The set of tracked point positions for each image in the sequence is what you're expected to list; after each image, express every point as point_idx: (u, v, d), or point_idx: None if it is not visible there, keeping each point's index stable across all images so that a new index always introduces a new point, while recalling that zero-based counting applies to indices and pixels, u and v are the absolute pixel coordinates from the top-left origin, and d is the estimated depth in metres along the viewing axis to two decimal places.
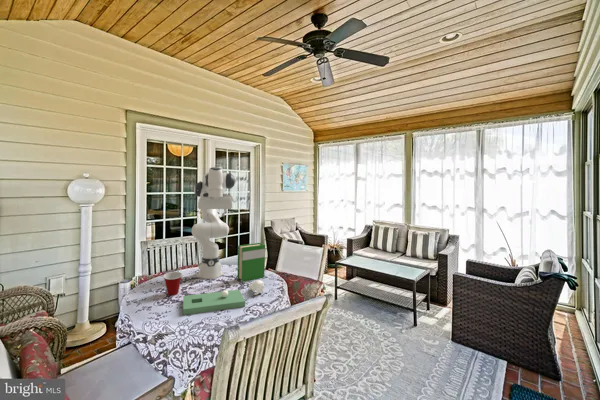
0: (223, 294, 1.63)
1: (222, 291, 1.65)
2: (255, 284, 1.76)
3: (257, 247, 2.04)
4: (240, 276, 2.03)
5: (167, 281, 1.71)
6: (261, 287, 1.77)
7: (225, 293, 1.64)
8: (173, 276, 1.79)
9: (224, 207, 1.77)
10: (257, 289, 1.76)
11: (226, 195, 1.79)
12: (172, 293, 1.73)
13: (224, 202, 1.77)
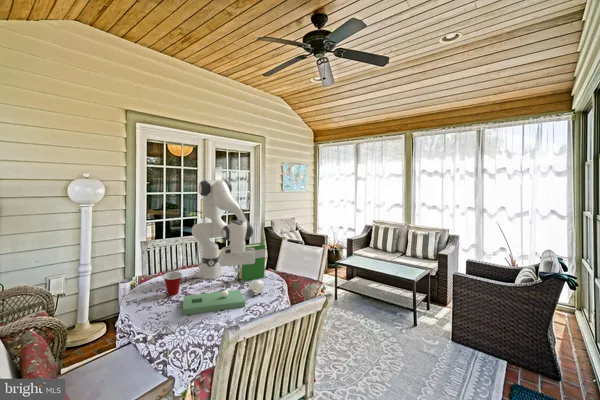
0: (223, 294, 1.63)
1: (222, 291, 1.65)
2: (255, 284, 1.76)
3: (257, 247, 2.04)
4: (240, 276, 2.03)
5: (167, 281, 1.71)
6: (261, 287, 1.77)
7: (225, 293, 1.64)
8: (173, 276, 1.79)
9: (247, 262, 1.67)
10: (257, 289, 1.76)
11: (249, 249, 1.68)
12: (172, 293, 1.73)
13: (247, 256, 1.67)
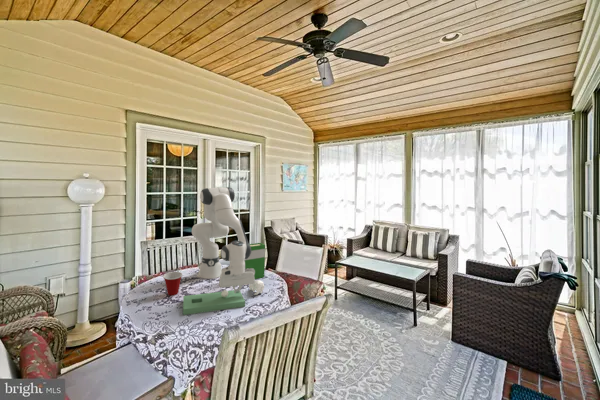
0: (223, 294, 1.63)
1: (222, 291, 1.65)
2: (255, 284, 1.76)
3: (257, 247, 2.04)
4: None
5: (167, 281, 1.71)
6: (261, 287, 1.77)
7: (225, 293, 1.64)
8: (173, 276, 1.79)
9: (246, 283, 1.68)
10: (257, 289, 1.76)
11: (248, 270, 1.69)
12: (172, 293, 1.73)
13: (246, 277, 1.68)
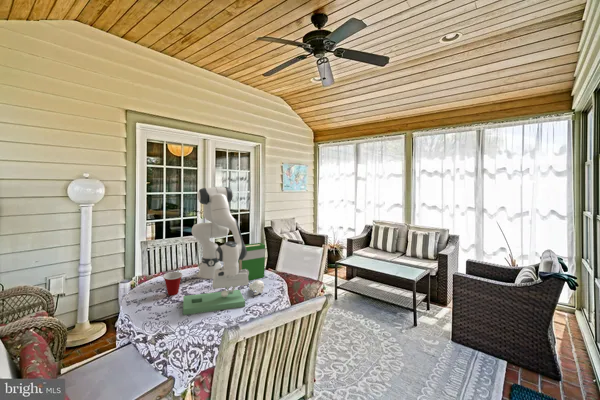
0: (223, 294, 1.63)
1: (222, 291, 1.65)
2: (255, 284, 1.76)
3: (257, 247, 2.04)
4: None
5: (167, 281, 1.71)
6: (261, 287, 1.77)
7: (225, 293, 1.64)
8: (173, 276, 1.79)
9: (240, 284, 1.66)
10: (257, 289, 1.76)
11: (242, 270, 1.68)
12: (172, 293, 1.73)
13: (240, 278, 1.66)
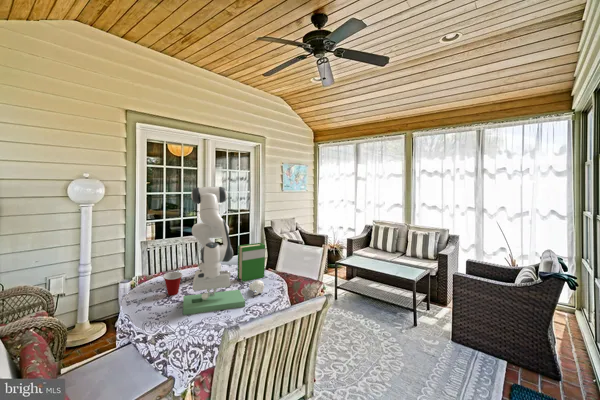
0: (204, 295, 1.59)
1: None
2: (255, 284, 1.76)
3: (257, 247, 2.04)
4: (240, 276, 2.03)
5: (167, 281, 1.71)
6: (261, 287, 1.77)
7: (206, 296, 1.60)
8: (173, 276, 1.79)
9: (221, 286, 1.62)
10: (257, 289, 1.76)
11: (223, 272, 1.64)
12: (172, 293, 1.73)
13: (221, 280, 1.62)
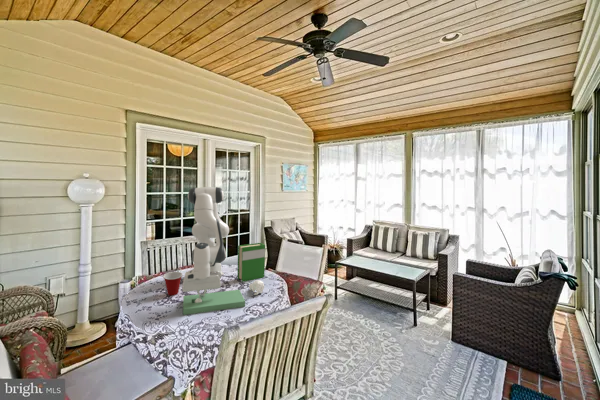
0: None
1: None
2: (255, 284, 1.76)
3: (257, 247, 2.04)
4: (240, 276, 2.03)
5: (167, 281, 1.71)
6: (261, 287, 1.77)
7: (197, 302, 1.58)
8: (173, 276, 1.79)
9: (211, 287, 1.60)
10: (257, 289, 1.76)
11: (214, 273, 1.62)
12: (172, 293, 1.73)
13: (212, 281, 1.60)
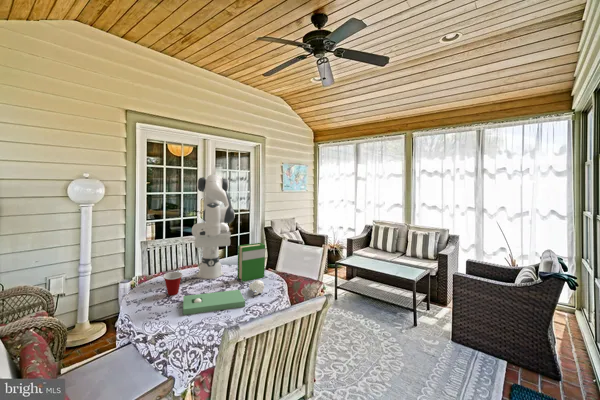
0: None
1: None
2: (255, 284, 1.76)
3: (257, 247, 2.04)
4: (240, 276, 2.03)
5: (167, 281, 1.71)
6: (261, 287, 1.77)
7: (196, 302, 1.58)
8: (173, 276, 1.79)
9: (222, 244, 1.71)
10: (257, 289, 1.76)
11: (224, 231, 1.72)
12: (172, 293, 1.73)
13: (222, 239, 1.70)
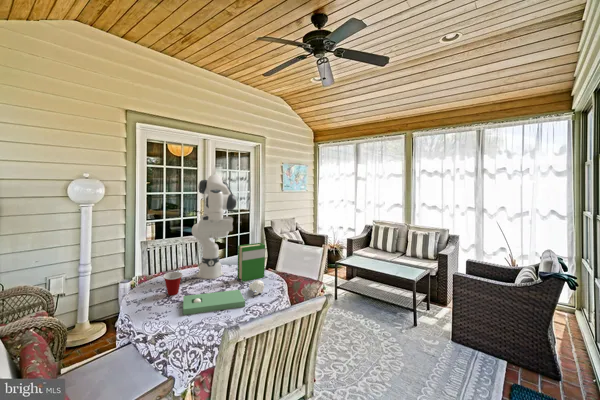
0: None
1: None
2: (255, 284, 1.76)
3: (257, 247, 2.04)
4: (240, 276, 2.03)
5: (167, 281, 1.71)
6: (261, 287, 1.77)
7: None
8: (173, 276, 1.79)
9: (224, 230, 1.74)
10: (257, 289, 1.76)
11: (226, 217, 1.76)
12: (172, 293, 1.73)
13: (224, 224, 1.75)
